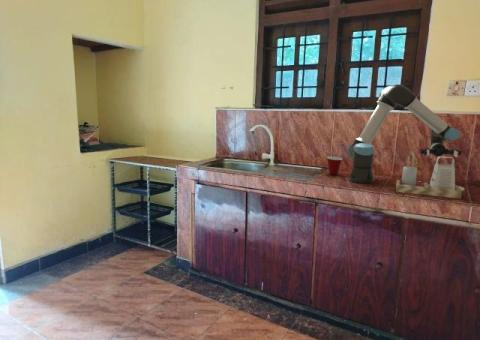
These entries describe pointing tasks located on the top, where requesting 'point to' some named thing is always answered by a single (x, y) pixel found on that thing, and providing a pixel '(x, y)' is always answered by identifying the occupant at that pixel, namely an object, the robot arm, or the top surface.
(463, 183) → the top surface
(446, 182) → the grater
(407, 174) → the utensil crock
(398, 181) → the rack
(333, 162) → the plastic cup
